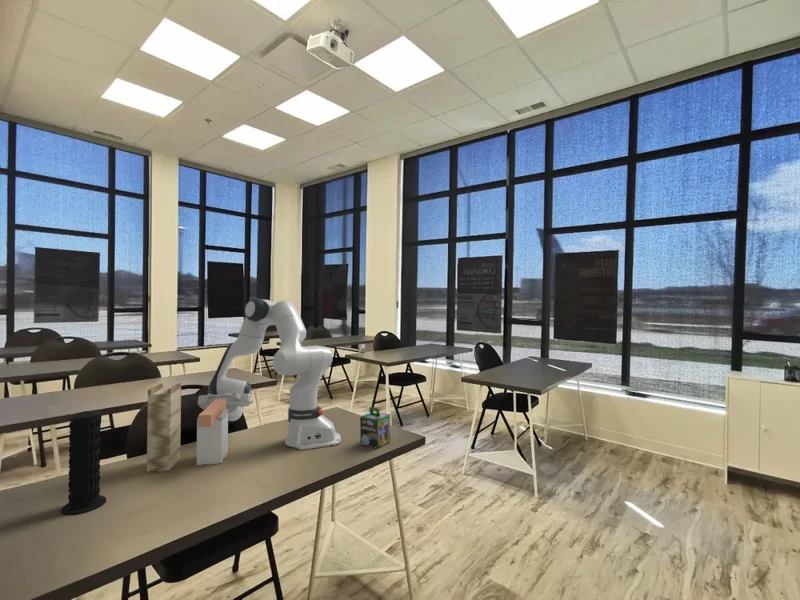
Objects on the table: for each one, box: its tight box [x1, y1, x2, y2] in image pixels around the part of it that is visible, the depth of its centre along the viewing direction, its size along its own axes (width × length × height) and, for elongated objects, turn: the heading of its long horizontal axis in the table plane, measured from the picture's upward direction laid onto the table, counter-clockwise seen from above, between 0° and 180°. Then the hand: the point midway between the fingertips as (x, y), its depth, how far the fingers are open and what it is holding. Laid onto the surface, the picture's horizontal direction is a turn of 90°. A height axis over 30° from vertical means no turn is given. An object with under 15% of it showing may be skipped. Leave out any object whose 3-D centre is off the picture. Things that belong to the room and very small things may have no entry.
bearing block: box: [146, 382, 182, 472], centre depth 136 cm, size 7×10×28 cm
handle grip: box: [60, 410, 107, 516], centre depth 109 cm, size 10×26×10 cm
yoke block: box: [196, 409, 229, 466], centre depth 142 cm, size 8×10×16 cm
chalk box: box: [359, 406, 391, 449], centre depth 159 cm, size 9×9×15 cm
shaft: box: [197, 399, 226, 427], centre depth 142 cm, size 4×22×4 cm, turn 12°
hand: (222, 395), depth 156 cm, fingers open, 8 cm apart
